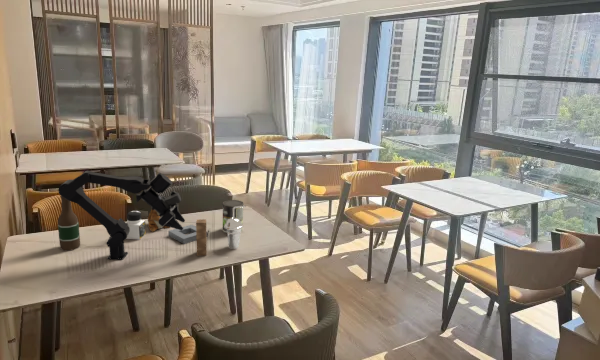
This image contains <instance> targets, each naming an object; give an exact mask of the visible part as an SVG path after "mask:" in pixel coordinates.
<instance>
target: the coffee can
mask: <svg viewBox="0 0 600 360" xmlns="http://www.w3.org/2000/svg"><path fill="white" fill-rule="evenodd" d="M244 204H245V203H244V202H243V201H242V200H239V199H229V200H224V201H223V202H222V203H221V205H222V232H223V233H226V234H227V232H226V229H225V228H224V225H225V224H226V222H227V221H228V219H230V218H233V207H236V206H245V205H244ZM234 217H235V218H238V219H239V220H240V221H241V223H242V224H244V207H242V208H235V209H234ZM243 231H244V227H243V228H242V229H241V233H242V232H243Z"/></svg>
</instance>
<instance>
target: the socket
mask: <svg viewBox="0 0 600 360" xmlns="http://www.w3.org/2000/svg"><path fill="white" fill-rule="evenodd" d="M182 227H183V229H182V230H179V229H175V228H172V229H170V230H168V237H170V238H172V239H174V240H176V241H177V242H179V243H182V244H183V245H185V244H188V243H193V242H195V241H197V240H196V225H194V224H188V225H185V226H182ZM208 234H209V232H208V231H207V230H206V235H207V238H208V236H209V235H208Z"/></svg>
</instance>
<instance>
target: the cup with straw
mask: <svg viewBox="0 0 600 360" xmlns="http://www.w3.org/2000/svg"><path fill="white" fill-rule="evenodd" d="M242 207H243V208H246V205H243V206H236V207H233V218H230V219H228V221H227V222H226V224H225V225H224V228H225V229H226V232H227V233H226V232H225V233H226V234H227V235H226V237H227V245H228V249H230V250H234V249H239V248H240V246H239V245H240V240H241V233H242V232H241V229H242V228H243V229H244V225H243V224H244V223H243V224H242V223H241V221H240V220H239V219H238V218H235V217H234V209H235V208H242Z"/></svg>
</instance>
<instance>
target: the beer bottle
mask: <svg viewBox="0 0 600 360" xmlns="http://www.w3.org/2000/svg"><path fill="white" fill-rule="evenodd" d="M60 199H61V213H60V214H59V217H58V219H57V229H58V230H57V231H58V239H59V247H60V249H61V250H62V251H74V250H77V249H79V248H80V246H81V238H80V237H81V236H80V235H81V234H80V225H79V224H80V223H79V218H78V216H77V215H76V213H74V211H73V208H72V207H73V206H72V202H71V201H69V200H67V199H65V198H64V197H62V196H61V195H60Z"/></svg>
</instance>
